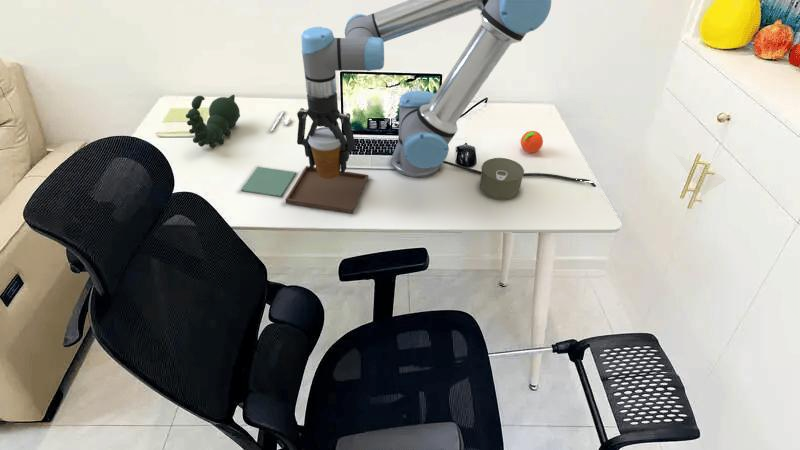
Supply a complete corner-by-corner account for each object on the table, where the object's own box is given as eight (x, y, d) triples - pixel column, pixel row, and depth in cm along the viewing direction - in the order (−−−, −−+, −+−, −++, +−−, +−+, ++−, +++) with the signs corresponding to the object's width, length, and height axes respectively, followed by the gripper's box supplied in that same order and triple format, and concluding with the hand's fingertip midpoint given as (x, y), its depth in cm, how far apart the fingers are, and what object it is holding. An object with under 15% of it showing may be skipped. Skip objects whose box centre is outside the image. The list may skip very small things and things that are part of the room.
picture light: (282, 112, 189) (281, 106, 188) (294, 113, 189) (294, 108, 188) (270, 132, 179) (269, 126, 177) (282, 133, 178) (282, 127, 177)
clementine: (527, 160, 170) (532, 140, 165) (512, 150, 174) (515, 131, 170) (545, 152, 174) (549, 133, 169) (529, 143, 178) (533, 124, 173)
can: (522, 181, 161) (526, 161, 156) (517, 204, 152) (521, 184, 148) (482, 173, 163) (485, 154, 159) (475, 196, 154) (478, 176, 150)
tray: (368, 178, 160) (368, 174, 159) (352, 214, 147) (352, 209, 146) (306, 170, 162) (306, 165, 161) (285, 203, 149) (285, 199, 148)
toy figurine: (217, 161, 167) (251, 117, 184) (202, 109, 154) (240, 67, 171) (190, 157, 169) (226, 114, 186) (172, 104, 155) (213, 63, 173)
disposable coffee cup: (308, 166, 153) (304, 128, 145) (341, 160, 155) (339, 123, 147) (314, 184, 146) (310, 146, 138) (349, 179, 148) (347, 141, 140)
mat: (296, 173, 161) (295, 172, 160) (281, 197, 151) (280, 195, 151) (258, 168, 162) (257, 166, 162) (241, 191, 153) (240, 189, 153)
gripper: (366, 90, 136) (368, 165, 151) (287, 81, 139) (296, 156, 154) (358, 103, 130) (361, 180, 145) (276, 94, 134) (287, 170, 148)
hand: (328, 167), depth 149 cm, fingers closed on disposable coffee cup, 8 cm apart
